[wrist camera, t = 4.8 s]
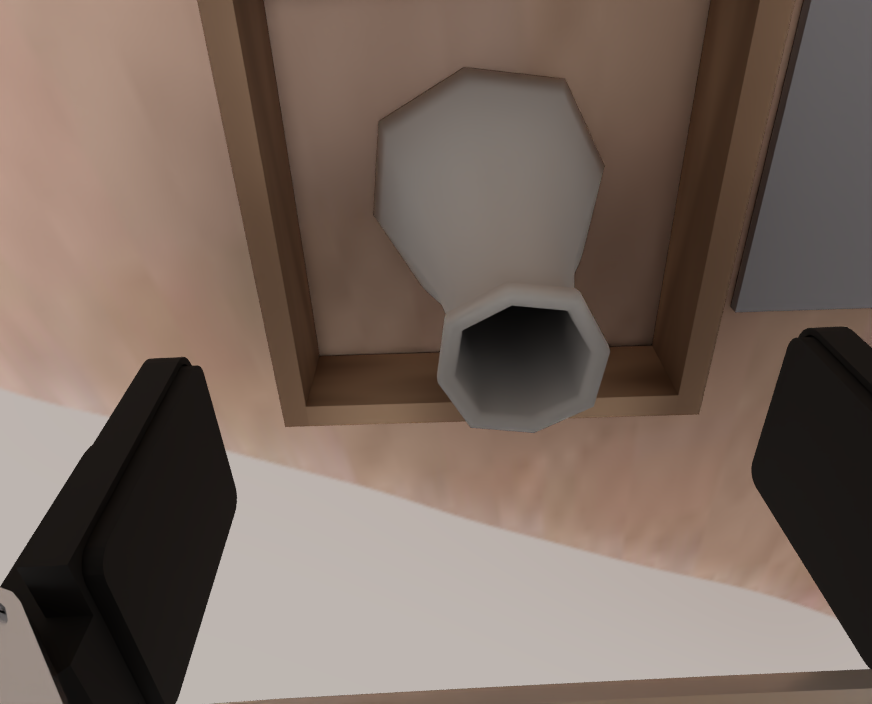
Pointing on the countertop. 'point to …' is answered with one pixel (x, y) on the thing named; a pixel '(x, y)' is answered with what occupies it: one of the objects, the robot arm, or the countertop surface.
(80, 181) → the countertop surface
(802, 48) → the charcoal mat
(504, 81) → the flask
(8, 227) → the countertop surface
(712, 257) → the walnut frame
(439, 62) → the countertop surface
